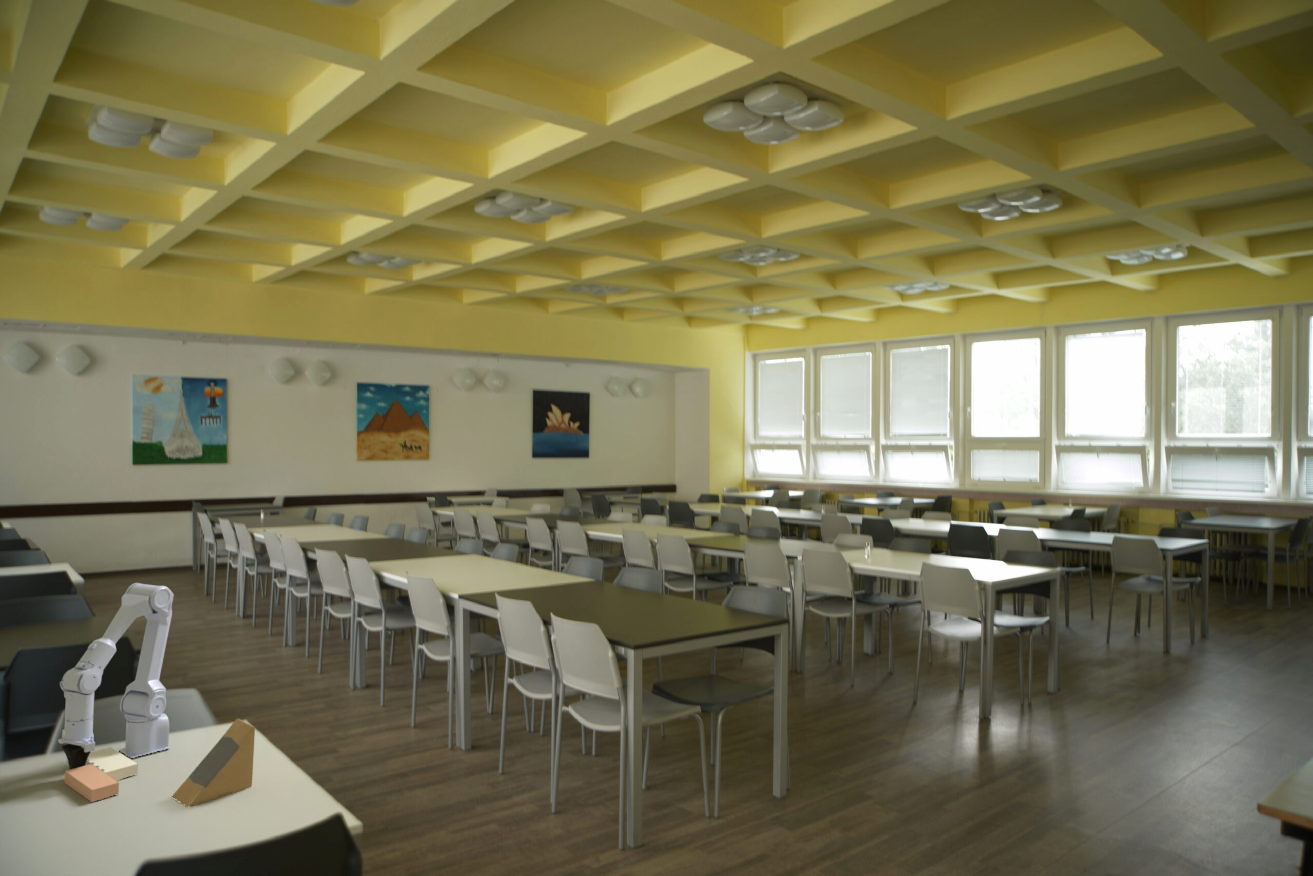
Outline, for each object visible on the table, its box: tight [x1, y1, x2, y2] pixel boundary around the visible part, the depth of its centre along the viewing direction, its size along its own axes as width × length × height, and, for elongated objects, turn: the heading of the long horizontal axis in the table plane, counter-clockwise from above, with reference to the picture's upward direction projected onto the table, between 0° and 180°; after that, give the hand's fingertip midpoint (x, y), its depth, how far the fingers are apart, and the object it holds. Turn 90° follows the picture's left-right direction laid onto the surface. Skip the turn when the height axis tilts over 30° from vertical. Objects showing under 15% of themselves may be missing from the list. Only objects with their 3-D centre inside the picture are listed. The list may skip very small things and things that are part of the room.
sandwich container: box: [171, 718, 256, 808], centre depth 200 cm, size 9×15×15 cm, turn 143°
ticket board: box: [85, 747, 139, 781], centre depth 209 cm, size 7×16×3 cm, turn 54°
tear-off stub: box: [64, 764, 120, 803], centre depth 199 cm, size 6×16×3 cm, turn 54°
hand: (76, 773), depth 204 cm, fingers closed
